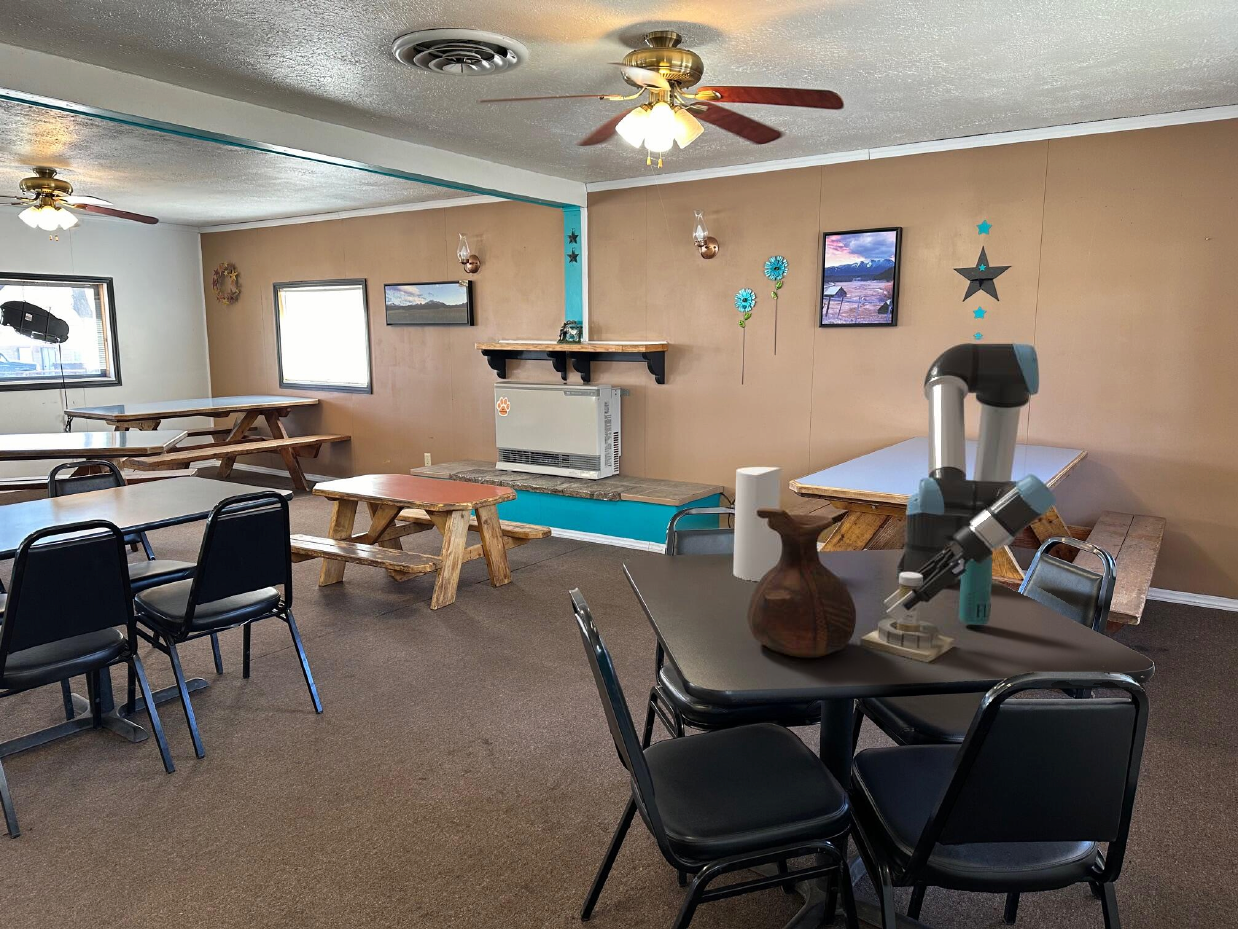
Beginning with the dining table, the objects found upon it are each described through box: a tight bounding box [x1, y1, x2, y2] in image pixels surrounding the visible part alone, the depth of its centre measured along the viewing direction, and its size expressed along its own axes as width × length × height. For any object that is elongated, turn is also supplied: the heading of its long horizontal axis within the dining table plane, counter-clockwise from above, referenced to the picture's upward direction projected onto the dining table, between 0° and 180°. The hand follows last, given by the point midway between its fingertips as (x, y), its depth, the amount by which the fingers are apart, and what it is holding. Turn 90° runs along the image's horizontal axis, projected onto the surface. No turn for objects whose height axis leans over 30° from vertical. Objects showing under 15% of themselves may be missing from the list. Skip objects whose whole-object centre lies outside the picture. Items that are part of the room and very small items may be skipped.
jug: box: [747, 508, 857, 659], centre depth 168 cm, size 22×22×30 cm
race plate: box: [859, 617, 955, 663], centre depth 172 cm, size 13×14×4 cm
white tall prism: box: [732, 466, 782, 583], centre depth 225 cm, size 17×17×28 cm
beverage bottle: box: [957, 556, 994, 626], centre depth 183 cm, size 6×7×20 cm
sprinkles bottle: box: [897, 572, 923, 633], centre depth 171 cm, size 5×5×13 cm
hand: (890, 611), depth 172 cm, fingers open, 6 cm apart
